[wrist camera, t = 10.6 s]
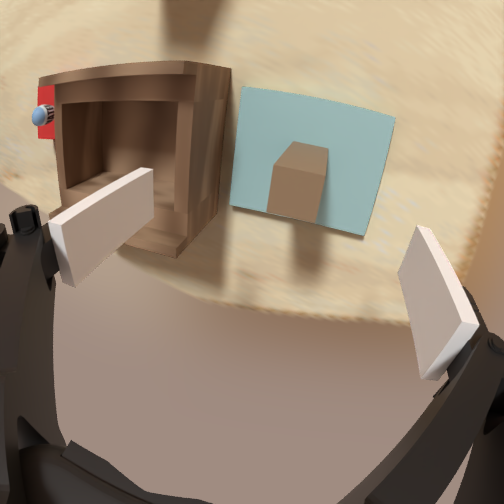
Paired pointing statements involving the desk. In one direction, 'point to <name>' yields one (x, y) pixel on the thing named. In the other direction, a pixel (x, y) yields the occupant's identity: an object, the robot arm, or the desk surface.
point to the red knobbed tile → (45, 113)
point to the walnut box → (144, 140)
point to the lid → (309, 158)
